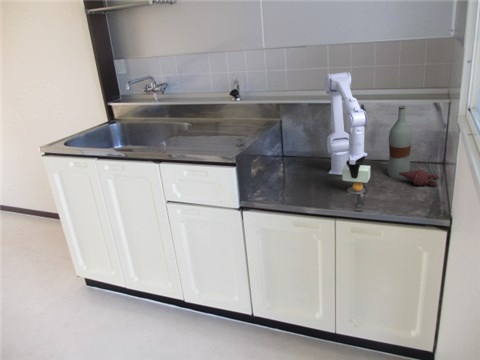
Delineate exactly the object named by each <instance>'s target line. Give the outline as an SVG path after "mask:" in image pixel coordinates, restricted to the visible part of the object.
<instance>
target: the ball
mask: <svg viewBox="0 0 480 360" xmlns="http://www.w3.org/2000/svg"><path fill="white" fill-rule="evenodd" d="M352 187H353V189H354V190H355V191H361V190H362V189H363V188H364V184H363V182H353V184H352Z"/></svg>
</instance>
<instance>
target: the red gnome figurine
mask: <svg viewBox="0 0 480 360" xmlns="http://www.w3.org/2000/svg"><path fill="white" fill-rule="evenodd" d="M399 174H400V175H402V176H404V177H405V178H404V179H407V180H408V181H411V182H412V183H413V184H414V186H424V185H428V186H430V187H433V186H434V188H436V187H438V183H437V182H436V181H437V180H439V179H440V177H439V175H438V174H434V173H433V174H429V173H428V172H427V171H426V170H423V169H420V168H418V169H417V170H413V171H409V172H400V173H399Z"/></svg>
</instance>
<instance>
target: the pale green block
mask: <svg viewBox="0 0 480 360" xmlns="http://www.w3.org/2000/svg"><path fill="white" fill-rule="evenodd" d="M341 177H342V178H341V180H342V181H343V182H344V181H345V182H353V183H355V182H361V183H367V184H368V181H369V180H370V178H371V165H360V168H359V172H358V177H357V178H352V177H351V174H350V170H349V167H348V166H347V164H346V165H345V166H344V167H343V169H342V175H341Z"/></svg>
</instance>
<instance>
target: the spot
mask: <svg viewBox="0 0 480 360" xmlns="http://www.w3.org/2000/svg"><path fill="white" fill-rule="evenodd" d="M346 191H347V193H348V194H351V195H361V194H364V193H365V192H366V189H365V187H363V189H362V190H361V191H355V190H354V189H353V186H351V187H348V188H347V190H346Z"/></svg>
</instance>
